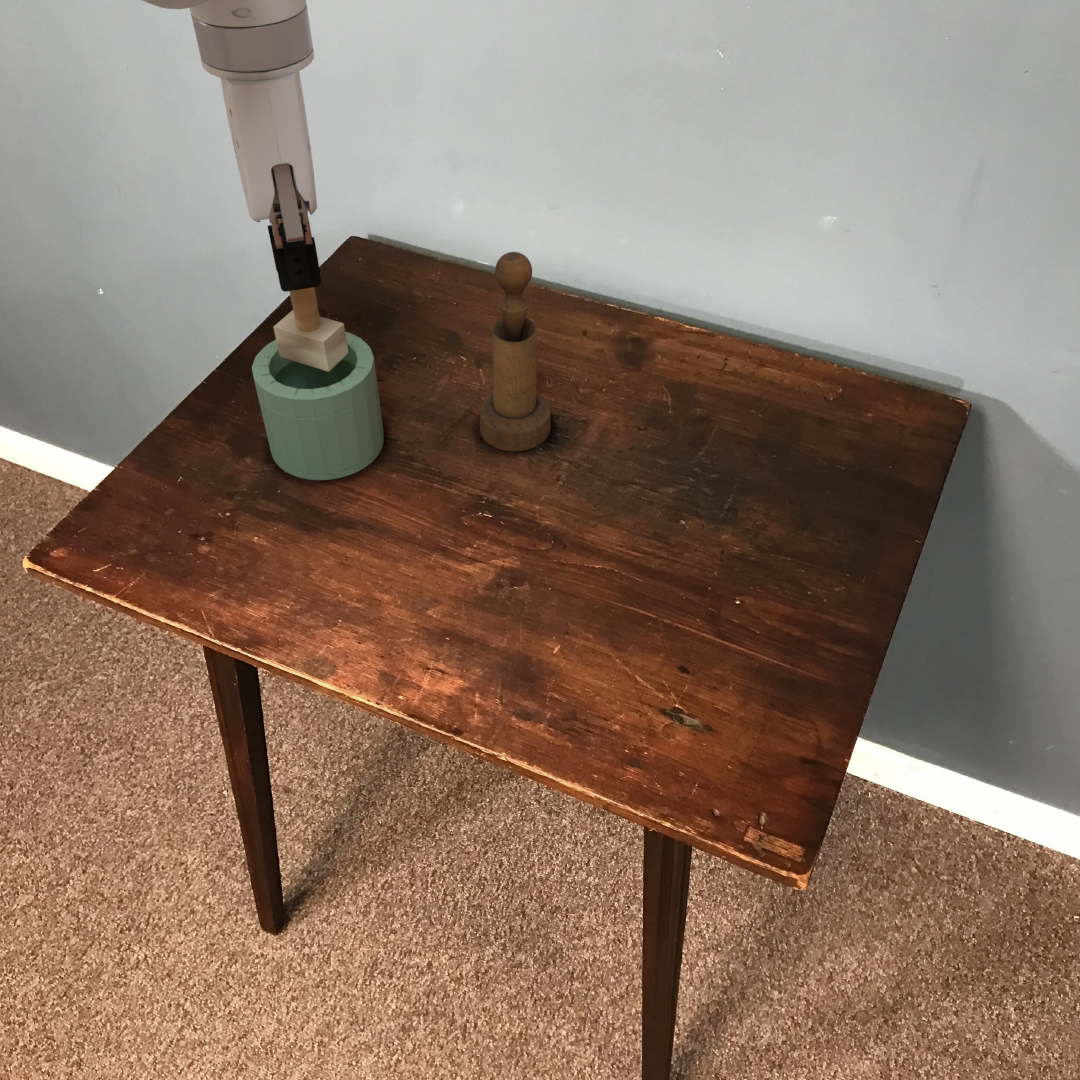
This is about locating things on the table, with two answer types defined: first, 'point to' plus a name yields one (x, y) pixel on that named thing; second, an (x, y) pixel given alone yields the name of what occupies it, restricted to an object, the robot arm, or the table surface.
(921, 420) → the table surface
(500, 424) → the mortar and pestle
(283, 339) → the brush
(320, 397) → the jar
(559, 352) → the table surface
